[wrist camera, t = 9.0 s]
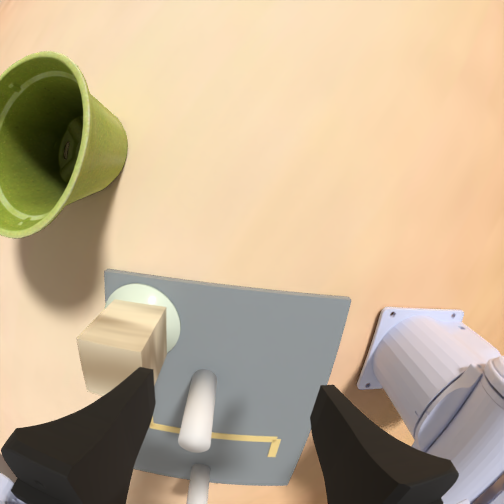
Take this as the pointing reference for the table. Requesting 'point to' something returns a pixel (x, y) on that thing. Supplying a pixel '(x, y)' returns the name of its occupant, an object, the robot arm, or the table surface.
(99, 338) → the block
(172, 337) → the pad
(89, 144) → the plant pot
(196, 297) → the board
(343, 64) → the table surface
